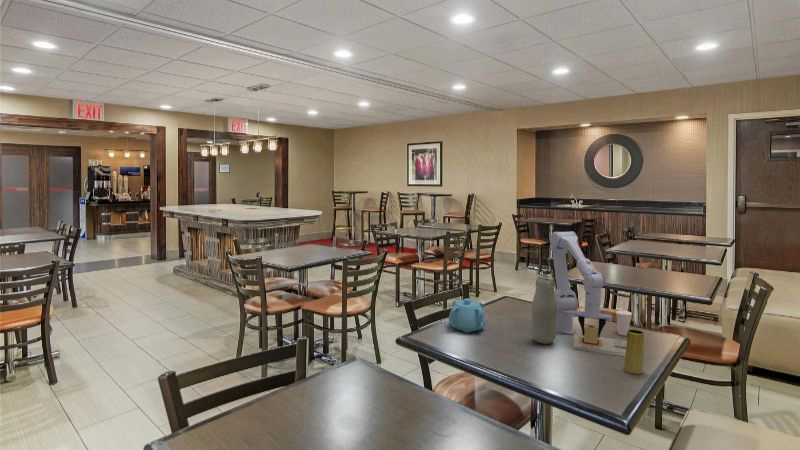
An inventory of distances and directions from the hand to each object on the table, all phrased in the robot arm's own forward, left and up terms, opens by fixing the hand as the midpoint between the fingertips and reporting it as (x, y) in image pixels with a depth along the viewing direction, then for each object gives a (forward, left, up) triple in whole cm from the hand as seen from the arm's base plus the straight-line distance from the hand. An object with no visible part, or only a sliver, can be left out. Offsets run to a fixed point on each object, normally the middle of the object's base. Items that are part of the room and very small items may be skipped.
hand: (590, 335), depth 182 cm
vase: (+14, -20, -4) cm, 25 cm away
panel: (+6, 0, -4) cm, 7 cm away
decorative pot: (-51, -1, -4) cm, 51 cm away
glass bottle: (-18, -5, -4) cm, 19 cm away
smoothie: (+13, +20, -4) cm, 24 cm away
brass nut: (0, 0, -2) cm, 2 cm away
